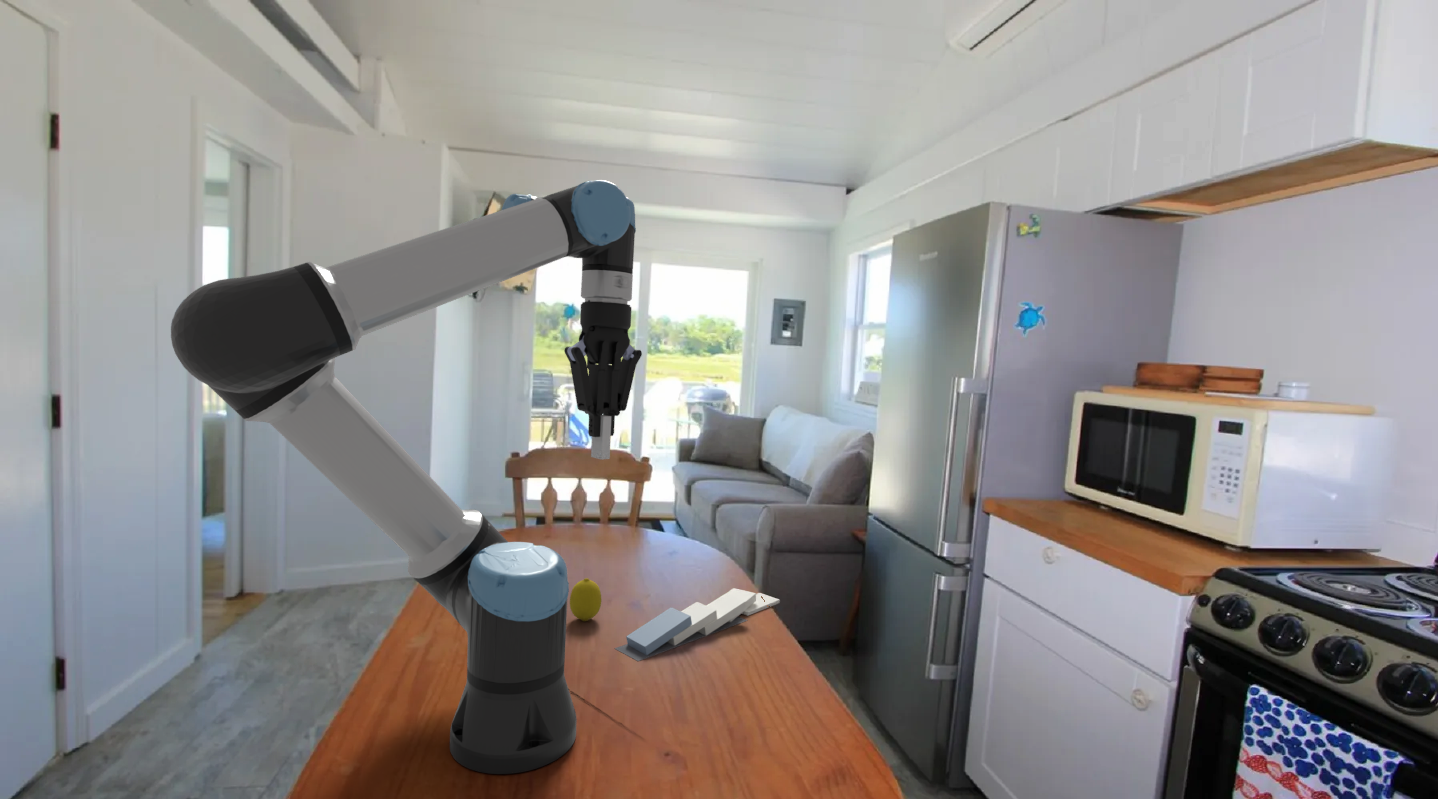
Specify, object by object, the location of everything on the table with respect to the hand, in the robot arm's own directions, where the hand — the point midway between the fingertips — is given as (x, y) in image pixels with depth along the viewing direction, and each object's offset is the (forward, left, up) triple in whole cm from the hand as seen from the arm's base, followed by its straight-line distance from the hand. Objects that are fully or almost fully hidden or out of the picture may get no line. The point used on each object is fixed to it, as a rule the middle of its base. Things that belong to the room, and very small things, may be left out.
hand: (600, 457), depth 106 cm
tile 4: (+22, -16, -31) cm, 42 cm away
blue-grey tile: (+6, -5, -31) cm, 32 cm away
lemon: (+15, +7, -33) cm, 37 cm away
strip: (+14, -11, -32) cm, 37 cm away
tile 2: (+10, -9, -31) cm, 34 cm away
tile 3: (+16, -13, -31) cm, 37 cm away
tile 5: (+27, -19, -32) cm, 46 cm away
